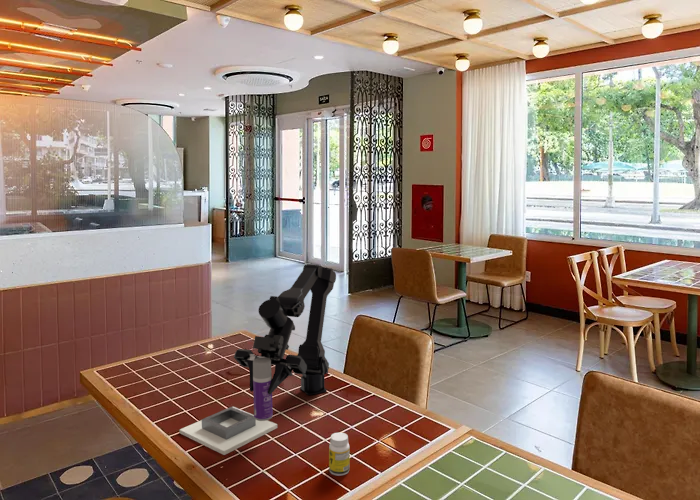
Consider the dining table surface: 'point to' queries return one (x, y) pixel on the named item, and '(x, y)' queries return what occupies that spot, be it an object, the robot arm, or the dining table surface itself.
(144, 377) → the dining table surface
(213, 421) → the collar
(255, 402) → the container
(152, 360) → the dining table surface
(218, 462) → the dining table surface
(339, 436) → the supplement bottle
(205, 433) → the mat
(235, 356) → the robot arm
